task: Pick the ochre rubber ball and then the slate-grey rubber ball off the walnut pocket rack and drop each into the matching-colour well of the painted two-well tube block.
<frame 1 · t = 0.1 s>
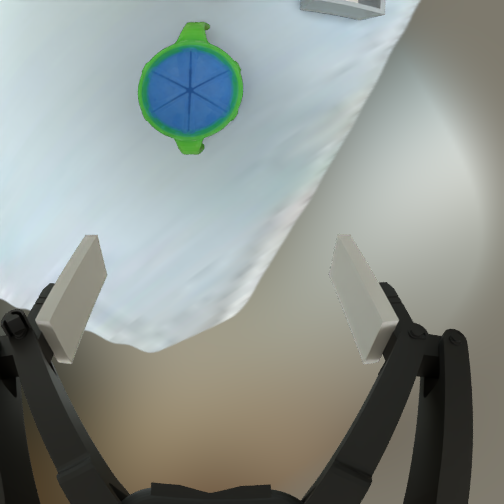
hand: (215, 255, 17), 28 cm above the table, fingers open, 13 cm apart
snack cup: (198, 84, 36), on the table
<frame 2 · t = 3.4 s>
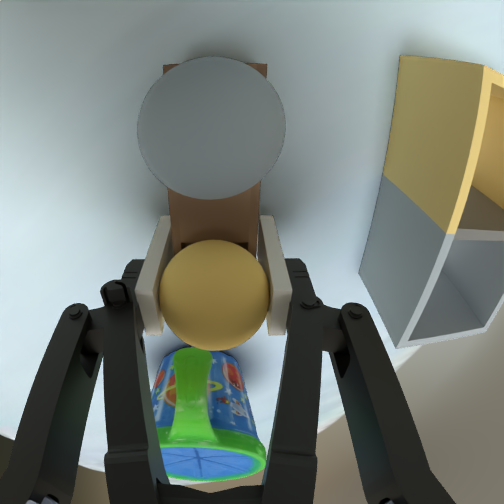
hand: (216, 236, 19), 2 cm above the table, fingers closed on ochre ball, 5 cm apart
slate ball: (214, 115, 12), point 4 cm above the table, touching rack
snack cup: (200, 365, 28), on the table
tube block: (431, 180, 19), on the table
rack: (217, 166, 18), on the table
ochre ball: (215, 263, 16), point 4 cm above the table, touching gripper, rack
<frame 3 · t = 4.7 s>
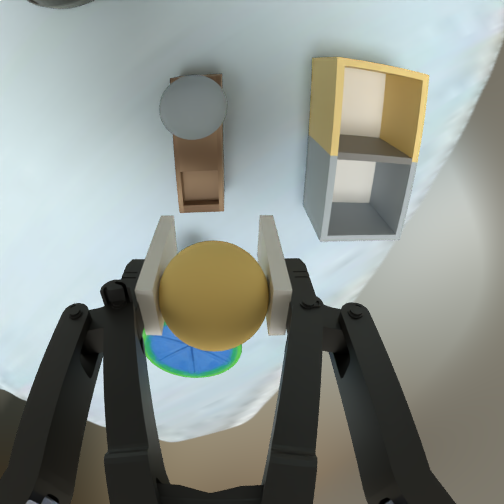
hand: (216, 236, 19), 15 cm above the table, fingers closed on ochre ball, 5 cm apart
slate ball: (196, 103, 23), point 4 cm above the table, touching rack
snack cup: (196, 287, 40), on the table
tube block: (346, 136, 30), on the table
rack: (202, 134, 29), on the table
ochre ball: (215, 263, 16), point 17 cm above the table, touching gripper
when the fingers open (10 cm above the table, at t = 6.4 s): ochre ball drops 12 cm, resting on tube block.
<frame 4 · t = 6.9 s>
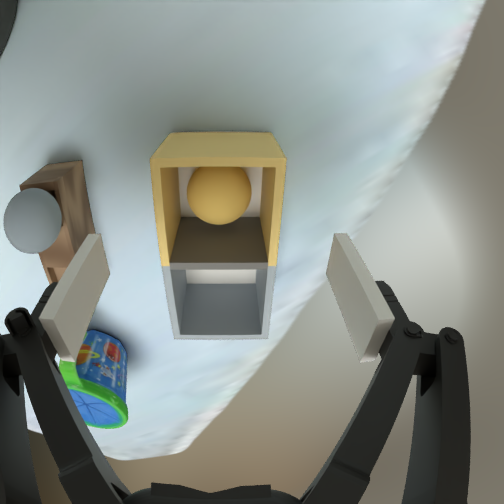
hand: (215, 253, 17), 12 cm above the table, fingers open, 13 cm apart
slate ball: (46, 206, 22), point 4 cm above the table, touching rack
snack cup: (102, 345, 38), on the table
tube block: (220, 217, 29), on the table
rack: (75, 220, 28), on the table
ochre ball: (219, 180, 26), resting on tube block
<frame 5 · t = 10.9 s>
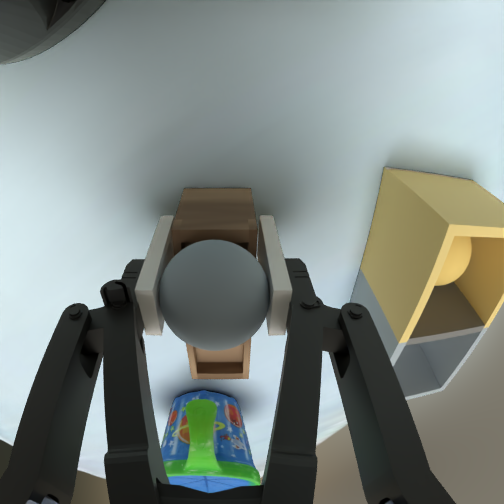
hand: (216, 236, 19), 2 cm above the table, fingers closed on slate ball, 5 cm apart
slate ball: (215, 263, 16), point 4 cm above the table, touching gripper, rack
snack cup: (206, 403, 33), on the table
tube block: (405, 266, 23), on the table
rack: (218, 269, 22), on the table
ochre ball: (421, 229, 21), point 1 cm above the table, touching tube block
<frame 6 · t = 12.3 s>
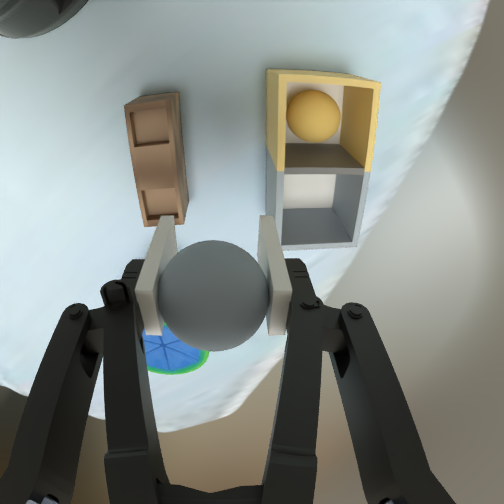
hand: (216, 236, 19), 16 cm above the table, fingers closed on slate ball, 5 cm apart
slate ball: (214, 263, 16), point 18 cm above the table, touching gripper
snack cup: (171, 289, 42), on the table
tube block: (305, 144, 31), on the table
rack: (164, 150, 30), on the table
ochre ball: (308, 111, 29), point 1 cm above the table, touching tube block
when the fingers open (10 cm above the table, at t = 13.8 s): slate ball drops 12 cm, resting on tube block.
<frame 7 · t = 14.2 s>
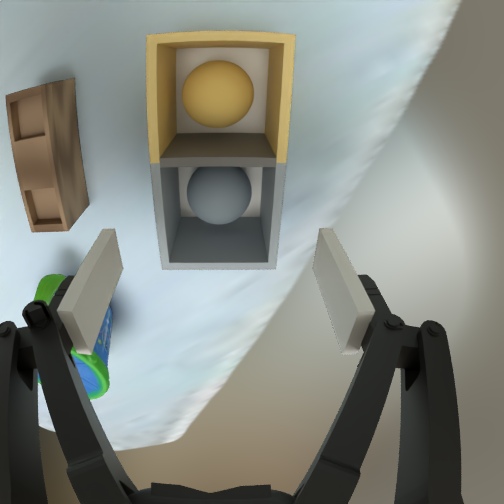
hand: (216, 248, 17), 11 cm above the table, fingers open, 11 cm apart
slate ball: (219, 180, 26), resting on tube block
snack cup: (85, 304, 34), on the table
tube block: (220, 134, 25), on the table
rack: (61, 145, 23), on the table
ochre ball: (220, 91, 22), point 1 cm above the table, touching tube block
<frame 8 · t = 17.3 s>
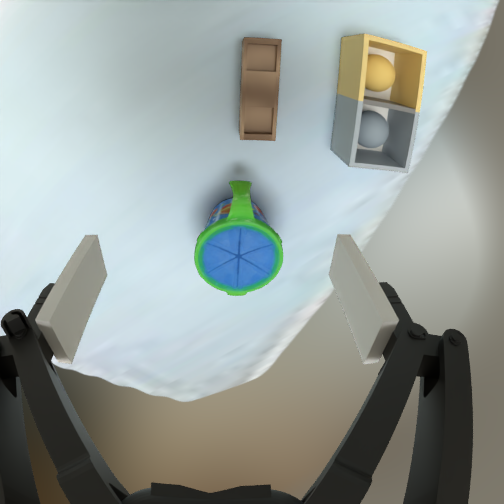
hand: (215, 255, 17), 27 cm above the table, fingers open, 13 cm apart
slate ball: (363, 125, 38), resting on tube block
snack cup: (236, 219, 46), on the table
tube block: (365, 97, 37), on the table
rack: (256, 86, 36), on the table
ochre ball: (369, 72, 34), point 1 cm above the table, tilted 5°, touching tube block
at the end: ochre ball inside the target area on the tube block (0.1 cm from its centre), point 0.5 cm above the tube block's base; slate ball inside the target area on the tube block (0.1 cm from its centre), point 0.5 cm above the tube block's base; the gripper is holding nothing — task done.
